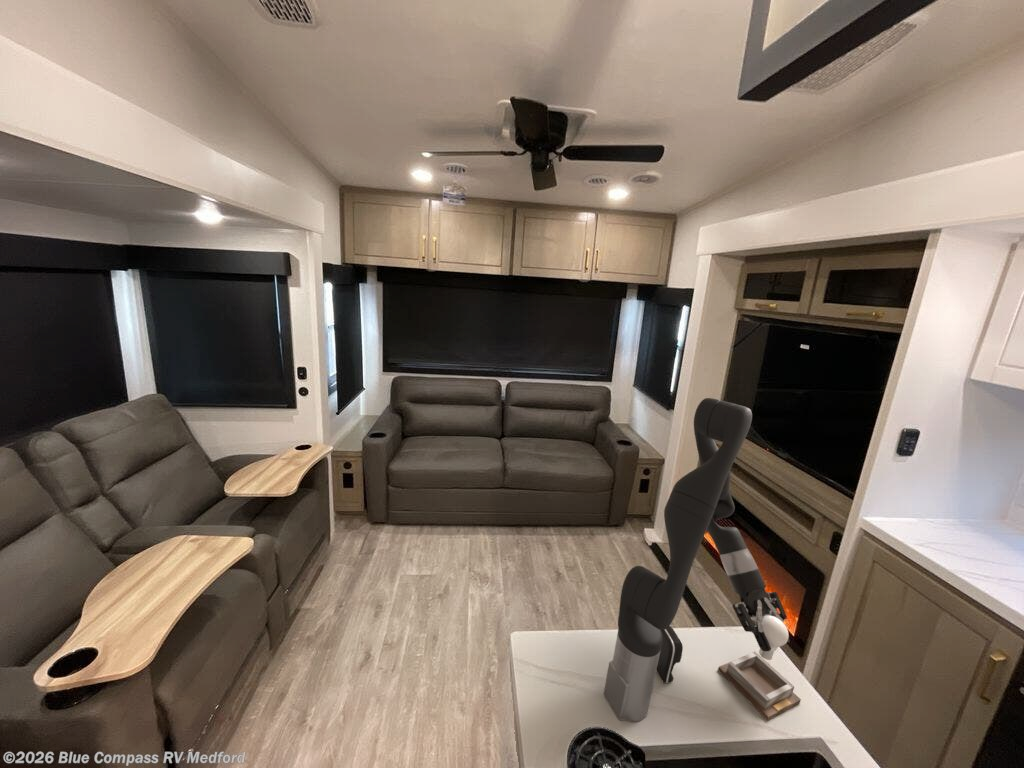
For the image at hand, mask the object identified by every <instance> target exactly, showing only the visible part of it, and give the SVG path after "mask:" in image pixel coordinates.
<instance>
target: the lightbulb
mask: <svg viewBox="0 0 1024 768" xmlns="http://www.w3.org/2000/svg"><path fill="white" fill-rule="evenodd" d="M762 617H763V621H762V630H763V631H762V632H764V634H765V636H766V638H767V640H768V643H769V645H770V647H771V650H770V651H762V650H761V648H760V647H759V650H758V655H760V656H761V657H762V658H763V659H764V660H765V661H766V660H767V661H771V660H772V659H773V656H774V653H775V651H776V650H777V649H778V648H780V647H783V646H784V645H786V644H787V643H786V642H787V641H788V637H789V638H790V635H789V630H788V628H787V626H786V623H785V622H784V623H783V622H782V621H781V620H780V619H778V618H777V617H774V616H771V615H765V616H762Z"/></svg>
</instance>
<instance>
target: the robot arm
mask: <svg viewBox="0 0 1024 768" xmlns="http://www.w3.org/2000/svg"><path fill="white" fill-rule="evenodd" d="M752 421H753V413H752V410H751V409H750V408H749V407H747V406H744V405H740V404H737V403H733V402H729V401H724V400H721V399H717V398H713V397H712V398H711V397H706V398H704V399H702V400H701V401H700V402H699V404H698V405H697V407H696V410H695V412H694V416H693V432H694V438H695V444H696V449H697V454H698V458H699V465H700V466H698V467H696V468H695V469H693V470H691V471H690V472H688V473H687V474H685V475H684V476H682V477H681V478H680V479H678V480H677V481H676V482H675V484H674V485H673V488H672V490H671V492H670V494H669V497H668V499H667V502H666V503H665V507H664V510H663V515H664V516H663V517H664V518H663V519H664V524H665V526H664V527H665V532H666V534H667V540H668V541H667V542H668V547H669V567H668V573H667V576H666V579H665V578H663V577H662V576H659V575H658V574H657V573H655V572H653V571H652V570H649V569H648V568H647V567H645V566H642V565H636V566H634V567H632V568H631V569H629V571H628V573H626V576H625V578H624V581H623V583H622V587H621V591H620V592H621V593H620V599H619V600H620V601H619V609H618V610H619V611H618V617H617V627H618V628H617V629H618V630H617V633H616V635H617V636H616V640H615V646H614V651H613V659H612V660H611V661H609V662H608V667H607V673H606V678H605V679H606V680H605V685H604V691H603V697H604V698H605V700H606V701H607V703H608V704H609V706H610V707H611V709H612V711H613V712H614V714H615V715H616V717H617V718H618V720H619V721H622V720H623V721H624V720H626V721H629V722H640V721H642V720H644V719H645V718H646V717H647V715H648V712H649V708H650V702H651V698H652V694H653V688H654V683H655V679H656V675H657V674H656V673H657V665H658V661H659V656H660V651H661V646H662V639H663V638H662V633H661V630H665V629H667V628H668V627H669V626H671V624H672V622H673V621H674V619H675V617H676V615H677V613H678V610H679V607H680V604H681V601H682V599H683V595H684V592H685V588H686V585H687V583H688V579H689V576H690V573H691V570H692V566H693V563H694V561H695V559H696V555H697V553H698V551H699V549H700V546H701V544H702V541H703V540H704V537H705V535H706V533H708V535H709V536H710V538H711V539H712V541H713V543H714V545H715V548H716V551H717V553H718V555H719V558H720V561H721V563H722V565H723V568H724V571H725V572H726V576H727V577H728V580H729V583H730V584H731V587H732V590H733V591H734V593H735V594H736V595H738V596H739V599H740V600H739V601H740V602H738V603H733V604H732V608H733V610H734V613H735V614H736V617H737V618H738V620H739V622H740V624H741V626H742V628H743V630H744V631H745V632H747V633H748V632H749V633H751V634H753V636H754V638H755V640H756V642H757V646H758V647H759V649H760V648H761V650H762V651H770V650H771V647H770V645H769V643H768V640H767V638H766V636H765V634H764V632H762V631H763V630H762V621H763V617H762V616H765V615H771V616H774V617H777V618H778V619H780V620H781V621H782V622H783V623H784V624H785V622H784V620H787V619H788V616H787V614H786V611H785V609H784V606H783V603H782V601H781V599H780V596H779V594H778V592H776V591H771V592H767V591H766V588H767V584H766V582H765V580H764V578H763V576H762V573H761V571H760V569H759V566H757V562H756V561H755V559H754V557H753V554H751V551H750V550H749V549H748V547H747V545H746V542H745V539H744V538H743V536H742V534H741V532H740V530H739V529H738V528H737V527H735V526H721V525H719V524H718V523H717V522H716V521H717V520H722V519H725V518H728V517H731V516H732V515H733V514H734V512H735V509H736V506H735V503H734V501H733V498H732V494H731V491H730V487H731V486H730V485H731V473H732V472H731V469H732V467H733V464H734V463H735V460H736V459H737V456H738V454H739V452H740V450H741V448H742V446H743V443H744V442H745V440H746V438H747V435H748V434H749V430H750V428H751V424H752ZM715 441H718V442H721V444H720V447H718V446H717V443H716V442H715ZM790 642H791V639H790V636H789V637H788V641H787V642H786V644H788V643H790Z"/></svg>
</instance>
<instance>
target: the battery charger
mask: <svg viewBox="0 0 1024 768" xmlns="http://www.w3.org/2000/svg"><path fill="white" fill-rule="evenodd" d="M661 633H662V638H663V639H662V646H661V651H660V656H659V661H658V665H657V670H656V673H657V674H658V676H659V677H660V679H661V682H662V683H664V684H668V683H672V682H673V681H674V679H675V677H674V675H673V674H672V673H673V670H674V666H675V665H676V664H679V663H681V660H682V656H683V650H684V649H683V648H684V646H683V642H682V641H681V639H680V638H679V636H678V634H677V633H676V631H675V630H674V628H673V627H672V626H671V625H669V627H668V628H667V629H665V630H661Z"/></svg>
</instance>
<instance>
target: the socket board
mask: <svg viewBox="0 0 1024 768" xmlns="http://www.w3.org/2000/svg"><path fill="white" fill-rule="evenodd" d="M717 671H719V673H720V674H721V675H722V676H723V677H724V678H725V679H726V680H727V681H728V682H729V683H730V684H731V685H732V686H733V687H734V688H735V689H736V690H737V691H738V692H739V693H740V694H741V695H742V697H744V698H745V700H747V701H748V702H749V703H750V704H751V706H753V707H754V709H755V710H756V711H757V712H759V714H760V715H761V716H762V717H763V718H764V719H765V720H766V721H769V720H771V719H773V718H775V717H776V716H778V715H780V714H782V713H784V712H786V711H787V710H789V709H792V708H793V707H794V706H797V705H798V704H800V703H801V701H802V699H801V698H800V697H799V695H797V694H796V693H795V692H794V689H795V686H794V685H793V683H792V682H790V681H789V680H788V679H787V678H785V677H784V676H783V675H782V674H781V673H780V672H779V671H778V670H776V669H775V668H774V667H773V666H772V665H771V664H770V663H769V662H767V661H766V659H764V658H763V657H762V656H761V655H760V654H759V653H757V652H756V651H752V652H751V653H747V654H745V655H743V656H741V657H739V658H736V659H734V660H732V661H731V660H730V661H729V662H727V663H724V664H722V665H719V666H718V668H717Z"/></svg>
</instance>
